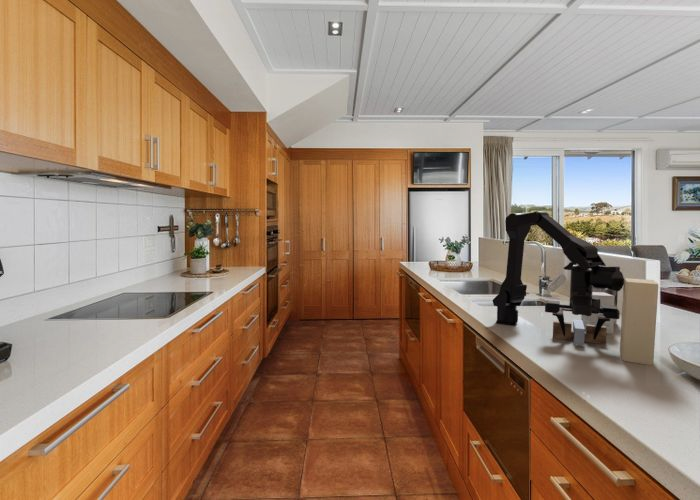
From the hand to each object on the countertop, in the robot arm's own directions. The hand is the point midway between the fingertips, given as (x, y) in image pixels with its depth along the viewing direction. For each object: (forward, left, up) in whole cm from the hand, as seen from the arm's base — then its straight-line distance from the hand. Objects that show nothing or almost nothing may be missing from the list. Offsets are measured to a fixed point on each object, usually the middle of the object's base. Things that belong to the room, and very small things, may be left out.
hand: (579, 337), depth 114 cm
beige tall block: (+13, -8, -2) cm, 15 cm away
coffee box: (+8, +33, -2) cm, 34 cm away
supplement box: (+6, +20, -2) cm, 21 cm away
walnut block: (0, +4, -2) cm, 4 cm away
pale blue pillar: (0, +4, -2) cm, 4 cm away
